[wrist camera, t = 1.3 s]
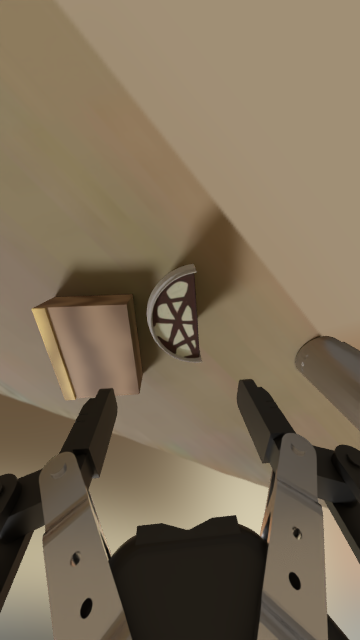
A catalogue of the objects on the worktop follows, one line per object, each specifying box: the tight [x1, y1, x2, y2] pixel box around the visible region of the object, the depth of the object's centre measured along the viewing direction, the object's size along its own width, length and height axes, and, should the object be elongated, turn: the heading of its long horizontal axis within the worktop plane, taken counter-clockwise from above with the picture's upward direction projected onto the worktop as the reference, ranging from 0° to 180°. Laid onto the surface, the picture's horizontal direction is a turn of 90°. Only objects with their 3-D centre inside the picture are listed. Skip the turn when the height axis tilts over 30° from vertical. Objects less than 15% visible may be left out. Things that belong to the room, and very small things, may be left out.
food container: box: [147, 264, 202, 363], centre depth 25 cm, size 12×6×10 cm, turn 5°
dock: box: [32, 294, 143, 400], centre depth 29 cm, size 12×16×5 cm
